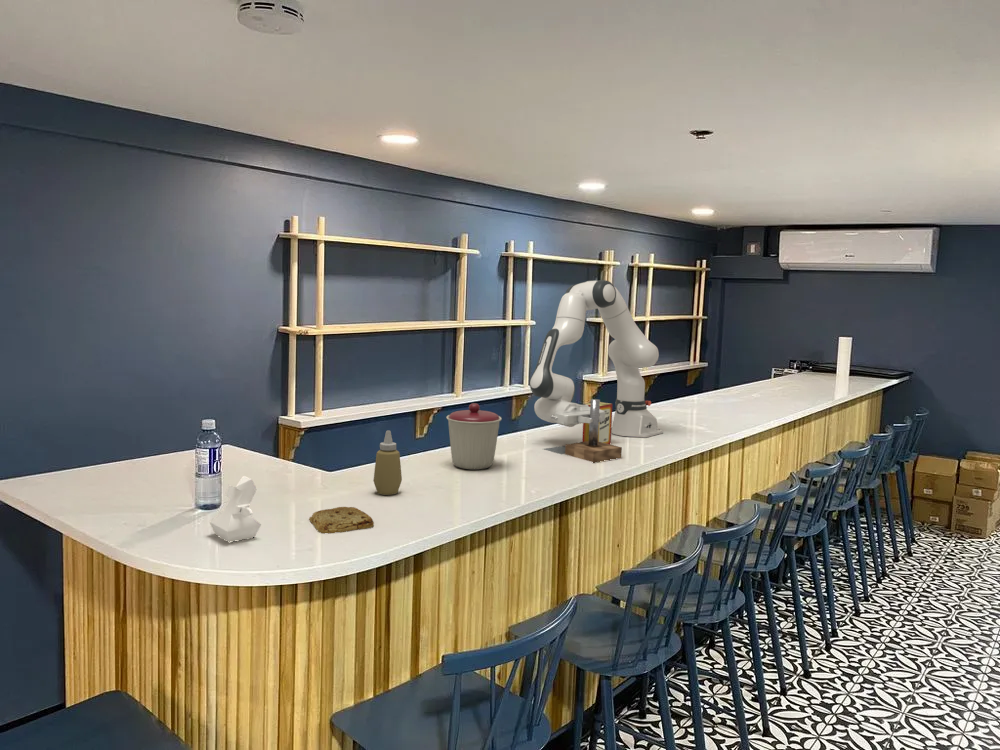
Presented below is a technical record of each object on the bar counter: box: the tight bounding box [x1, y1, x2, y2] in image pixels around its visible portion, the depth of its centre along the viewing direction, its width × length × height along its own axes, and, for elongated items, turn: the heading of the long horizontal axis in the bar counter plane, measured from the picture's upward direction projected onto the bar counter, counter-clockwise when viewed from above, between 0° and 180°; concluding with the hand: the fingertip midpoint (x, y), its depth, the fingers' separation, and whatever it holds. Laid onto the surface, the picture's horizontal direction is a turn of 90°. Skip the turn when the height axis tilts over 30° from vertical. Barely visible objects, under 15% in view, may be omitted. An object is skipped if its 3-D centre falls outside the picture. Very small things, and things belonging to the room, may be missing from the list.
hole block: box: [564, 441, 622, 464], centre depth 281 cm, size 14×14×4 cm
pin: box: [588, 398, 601, 446], centre depth 279 cm, size 3×3×16 cm
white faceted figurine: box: [208, 475, 262, 542], centre depth 184 cm, size 8×14×14 cm, turn 44°
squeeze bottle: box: [373, 430, 403, 496], centre depth 225 cm, size 8×8×18 cm
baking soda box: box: [581, 401, 613, 445], centre depth 302 cm, size 10×6×16 cm
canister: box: [445, 402, 502, 471], centre depth 260 cm, size 18×18×21 cm
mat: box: [543, 445, 565, 455], centre depth 290 cm, size 12×10×1 cm
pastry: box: [308, 506, 375, 534], centre depth 197 cm, size 17×17×3 cm
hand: (596, 420), depth 278 cm, fingers closed on pin, 3 cm apart
